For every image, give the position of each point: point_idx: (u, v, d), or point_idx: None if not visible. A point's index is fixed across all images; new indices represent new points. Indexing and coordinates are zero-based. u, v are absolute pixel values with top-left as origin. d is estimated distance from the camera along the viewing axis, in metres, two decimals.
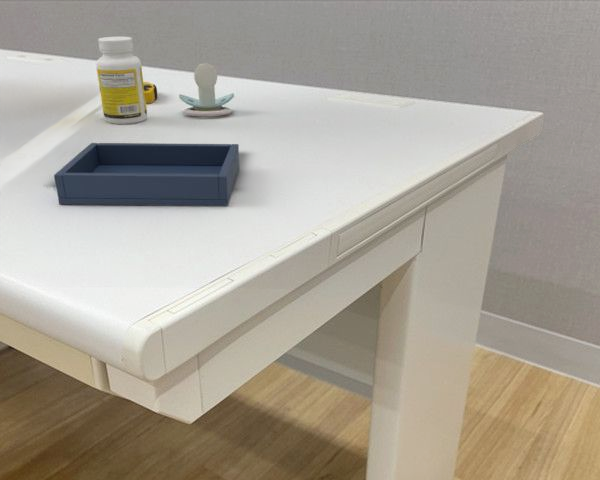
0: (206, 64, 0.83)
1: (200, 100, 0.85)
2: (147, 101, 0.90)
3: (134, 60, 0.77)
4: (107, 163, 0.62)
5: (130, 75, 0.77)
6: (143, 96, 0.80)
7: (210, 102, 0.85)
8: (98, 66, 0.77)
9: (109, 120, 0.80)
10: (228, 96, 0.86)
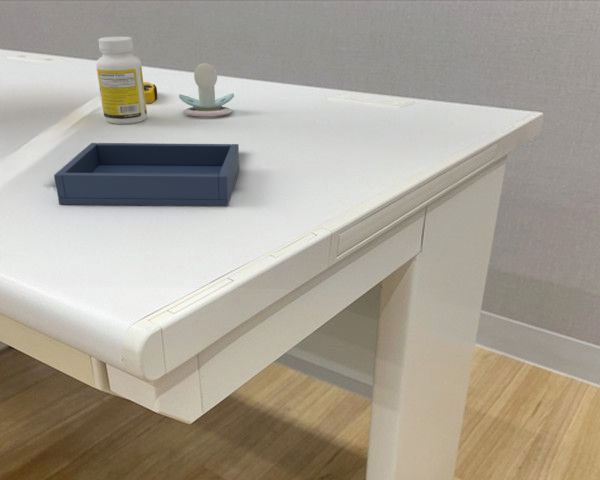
0: (206, 64, 0.83)
1: (200, 100, 0.85)
2: (147, 101, 0.90)
3: (134, 60, 0.77)
4: (107, 163, 0.62)
5: (130, 75, 0.77)
6: (143, 96, 0.80)
7: (210, 102, 0.85)
8: (98, 66, 0.77)
9: (109, 120, 0.80)
10: (228, 96, 0.86)
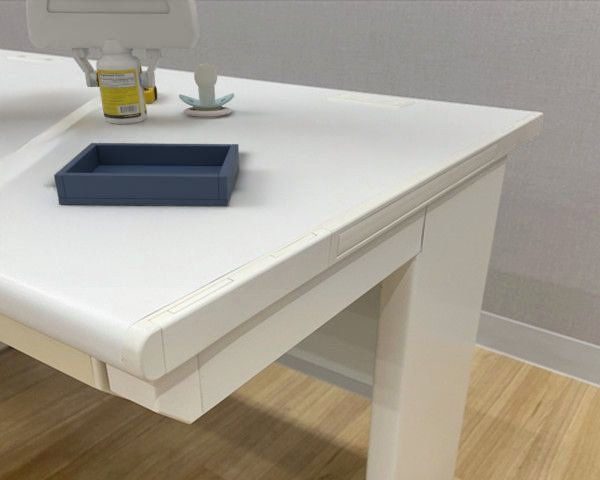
0: (206, 64, 0.83)
1: (200, 100, 0.85)
2: (147, 101, 0.90)
3: (134, 60, 0.77)
4: (107, 163, 0.62)
5: (130, 75, 0.77)
6: (143, 96, 0.80)
7: (210, 102, 0.85)
8: (98, 66, 0.77)
9: (109, 120, 0.80)
10: (228, 96, 0.86)
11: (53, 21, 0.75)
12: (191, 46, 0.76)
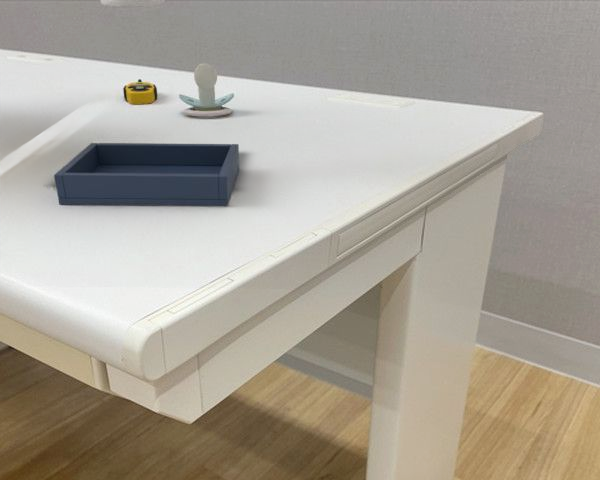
0: (206, 64, 0.83)
1: (200, 100, 0.85)
2: (147, 101, 0.90)
3: None
4: (107, 163, 0.62)
5: None
6: None
7: (210, 102, 0.85)
8: None
9: (108, 2, 0.53)
10: (228, 96, 0.86)
11: None
12: None
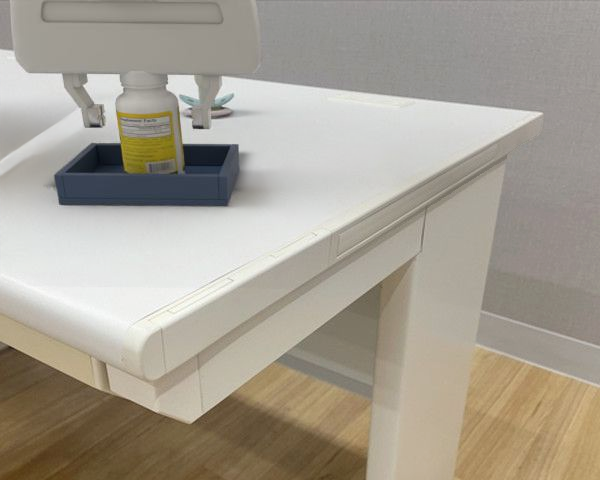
0: None
1: (200, 100, 0.85)
2: None
3: (170, 98, 0.54)
4: (107, 163, 0.62)
5: (164, 120, 0.54)
6: (181, 147, 0.57)
7: None
8: (118, 107, 0.54)
9: None
10: (228, 96, 0.86)
11: (50, 34, 0.51)
12: (252, 72, 0.52)
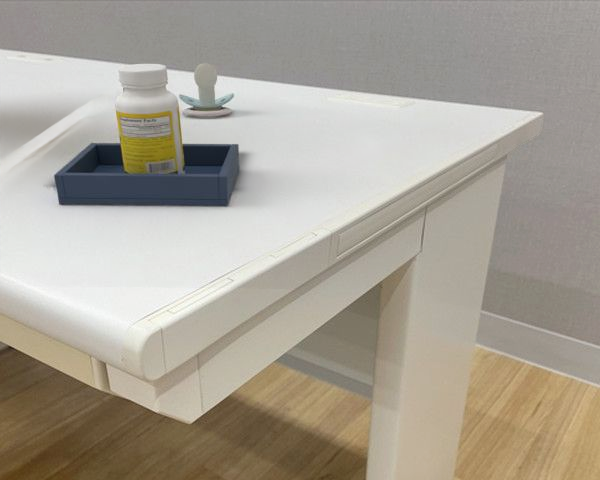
0: (206, 64, 0.83)
1: (200, 100, 0.85)
2: None
3: (170, 98, 0.54)
4: (107, 163, 0.62)
5: (164, 120, 0.54)
6: (181, 147, 0.57)
7: (210, 102, 0.85)
8: (118, 107, 0.54)
9: None
10: (228, 96, 0.86)
11: None
12: None
